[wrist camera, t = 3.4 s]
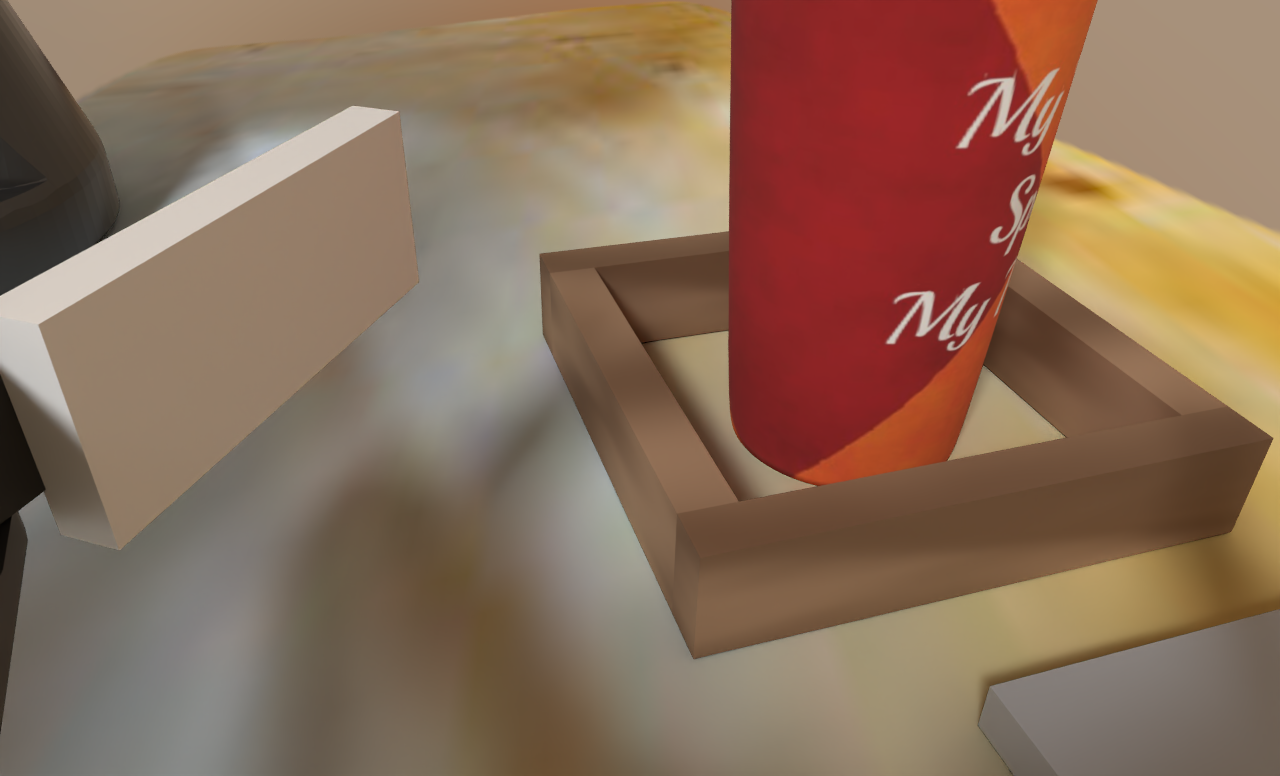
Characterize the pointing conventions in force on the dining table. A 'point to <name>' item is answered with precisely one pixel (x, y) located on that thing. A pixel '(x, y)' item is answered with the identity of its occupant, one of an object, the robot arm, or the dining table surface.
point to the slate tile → (1149, 709)
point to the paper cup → (880, 215)
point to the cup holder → (895, 501)
